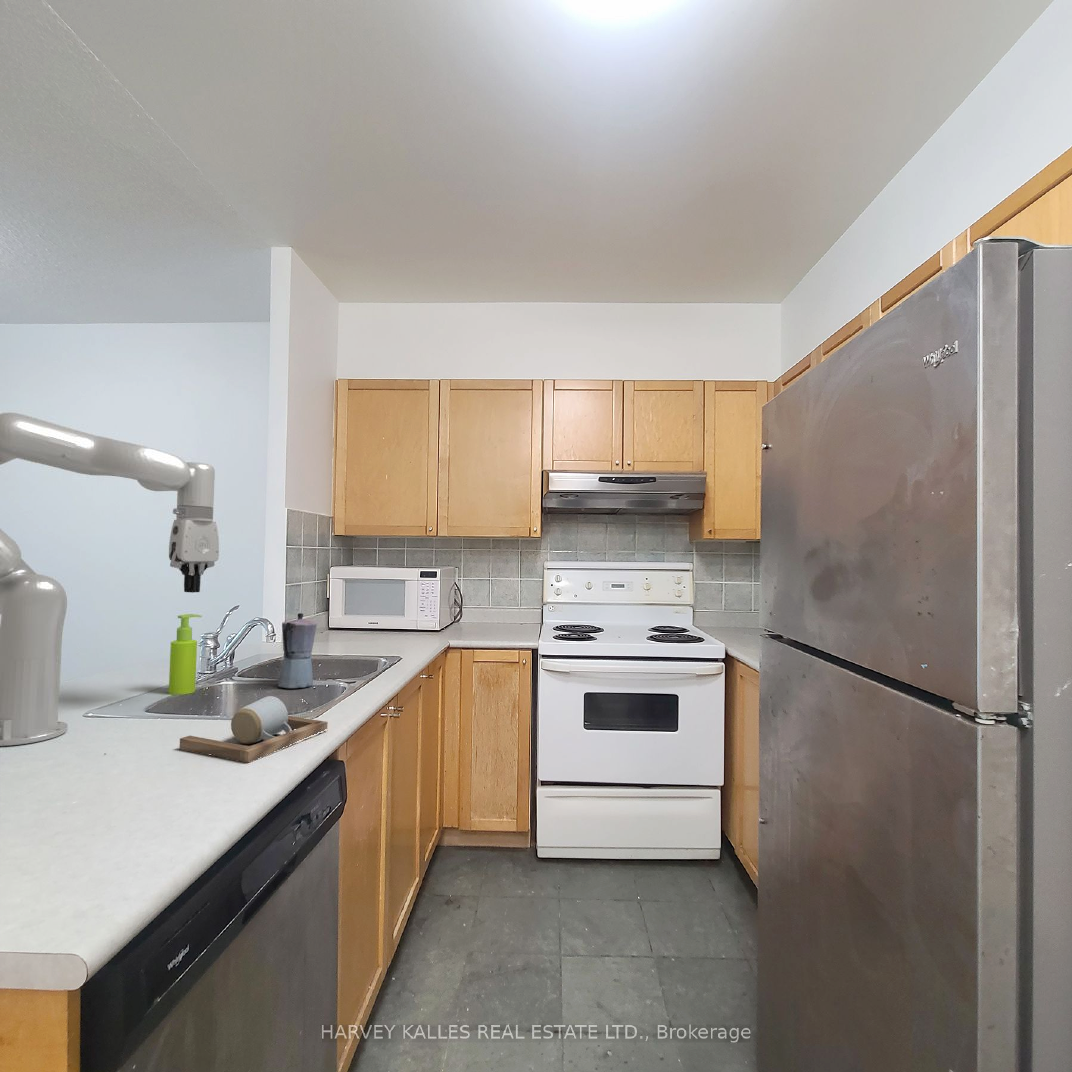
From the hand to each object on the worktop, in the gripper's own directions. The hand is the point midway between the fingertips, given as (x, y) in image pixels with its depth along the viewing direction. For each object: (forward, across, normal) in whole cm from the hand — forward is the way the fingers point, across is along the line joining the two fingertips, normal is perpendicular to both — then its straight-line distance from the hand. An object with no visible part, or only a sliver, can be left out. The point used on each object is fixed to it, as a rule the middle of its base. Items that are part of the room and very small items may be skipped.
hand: (191, 591), depth 137 cm
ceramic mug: (+27, -10, -34) cm, 45 cm away
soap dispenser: (+27, +10, +14) cm, 32 cm away
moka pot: (+27, +27, -7) cm, 39 cm away
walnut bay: (+27, -11, -33) cm, 44 cm away
